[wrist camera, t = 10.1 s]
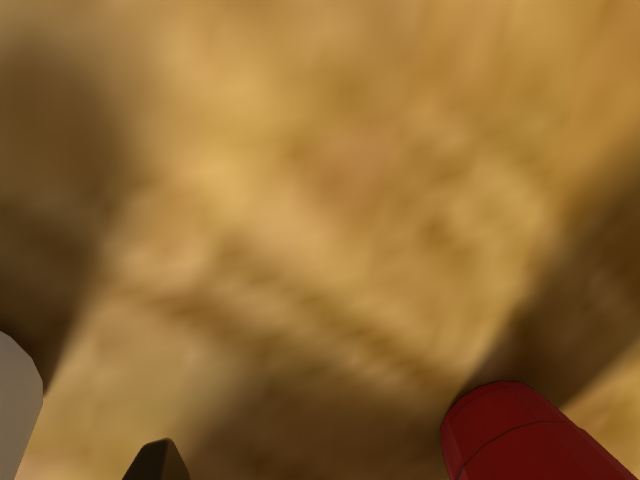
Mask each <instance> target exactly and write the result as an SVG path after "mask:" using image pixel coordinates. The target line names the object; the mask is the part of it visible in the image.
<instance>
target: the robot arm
mask: <svg viewBox="0 0 640 480" xmlns="http://www.w3.org/2000/svg"><path fill="white" fill-rule="evenodd" d="M122 480H190V476H189V473H188V470H187V468H186V466H185V464H184V462H183V460H182V458H181V456H180V454H179V452H178V450H177V448H176V446H175V444H174V442H173V441H172V440H171V439H170V438H164V439H161V440H157V441H154V442H150V443H147V444H145V445H144V446H143V447H142V448H141V449H140V451H139V453H138V454H137V456H136V457H135V459H134V461H133V462H132V464H131V466H130V467H129V469H128V470H127V472H126V474H125V475H124V477H123V478H122Z"/></svg>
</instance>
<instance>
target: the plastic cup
mask: <svg viewBox="0 0 640 480" xmlns="http://www.w3.org/2000/svg"><path fill="white" fill-rule="evenodd" d="M440 433H441V444H442V453H443V458H444V461H445V465H446V468H447V472H448V475H449V479H450V480H638V479H637V478H636V477H635V476H634V475H633V474H632V473H631V472H630V471H629V470H628V469H626V468H625V467H624V466H623V465H622V464H621V463H620V462H619V461H618V460H617V459H616V458H614V457H613V456H612V455H611V454H610V453H609V452H608V451H607V450H606V449H605V448H604V447H602V446H601V445H600V444H599V443H598V442H597V441H596V440H595V439H594V438H593V437H592V436H590V435H589V434H588V433H587V432H586V431H585V430H583V429H581V428H579V427H577V426H576V425H575V424H574V423H573V422H572V421H571V420H570V419H569V418H568V417H566V416H565V415H564V414H563V413H562V412H561V411H560V410H559V409H558V408H557V407H556V406H554V405H553V404H552V403H551V402H550V401H549V400H548V399H547V398H546V397H545V396H543V395H541V394H540V393H538V392H536V391H535V390H534V389H532V388H530V387H529V386H527V385H525V384H523V383H521V382H513V381H498V382H495V383H491V384H487V385H484V386H480V387H478V388H477V389H475V390H473V391H472V392H470V393H468V394H467V395H465V396H463V397H462V398H460V399H459V400H458V401H457V403H456V404H455V405H454V406H453V407H452V408H451V409H450V410H449V411H448V412H447V414H446V416H445V419H444V421H443V423H442V426H441V428H440Z"/></svg>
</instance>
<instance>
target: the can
mask: <svg viewBox="0 0 640 480" xmlns="http://www.w3.org/2000/svg"><path fill="white" fill-rule="evenodd" d="M42 405H43V381H42V379H41V377H40V375H39V373H38V371H37V368H36V366H35V364H34V362H33V360H32V358H31V357H30V356H29V355H28V354H27V353H26V352H25V351H24V350H23V349H22V348H21V347H20V346H19V345H18V344H17V343H16V342H15V341H14V340H13V339H12V338H11V337H10V336H8V335H6V334H4V333H3V332H1V331H0V480H14V478H15V476H16V473H17V470H18V468H19V465H20V463H21V460H22V457H23V455H24V452H25V450H26V447H27V444H28V442H29V439H30V436H31V434H32V431H33V429H34V426H35V423H36V421H37V418H38V416H39V413H40V410H41V408H42Z"/></svg>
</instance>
